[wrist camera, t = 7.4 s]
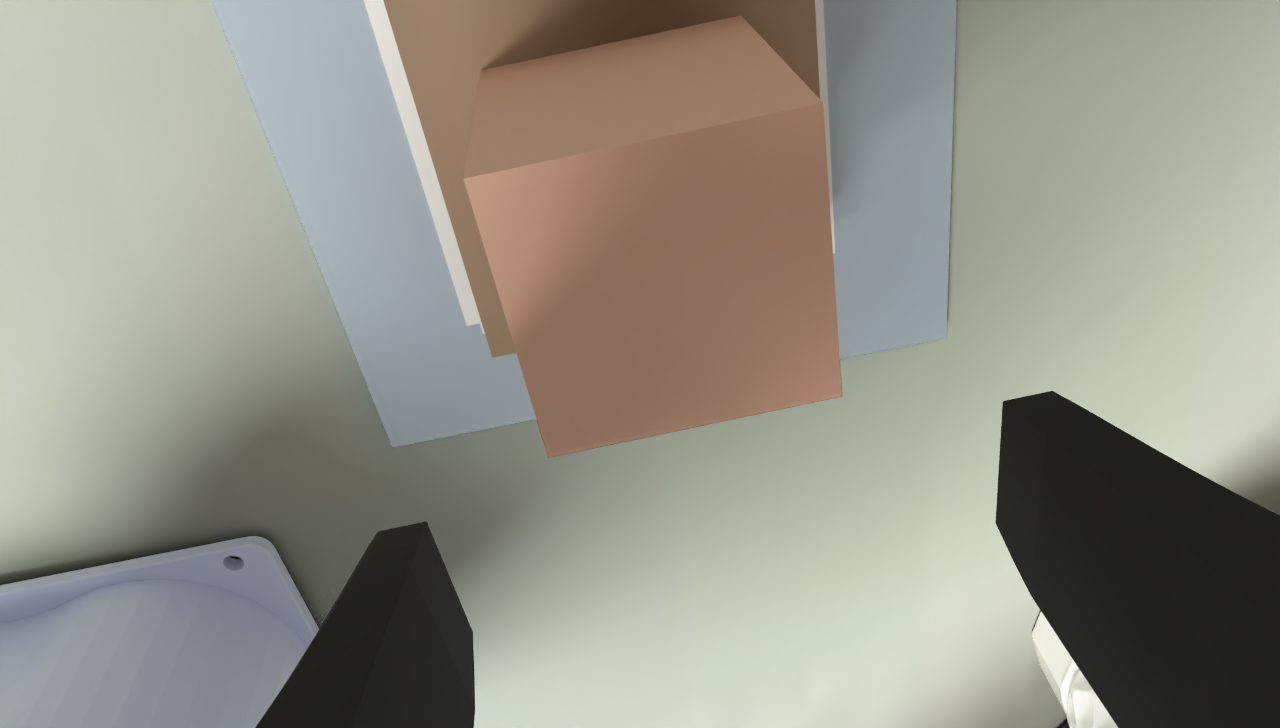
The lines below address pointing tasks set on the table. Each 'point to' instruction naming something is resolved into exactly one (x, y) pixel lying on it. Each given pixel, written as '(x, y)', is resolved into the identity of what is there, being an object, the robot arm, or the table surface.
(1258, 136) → the table surface
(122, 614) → the robot arm
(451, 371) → the blueprint board
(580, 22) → the base block
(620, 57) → the top block
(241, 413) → the table surface
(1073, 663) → the white cup
